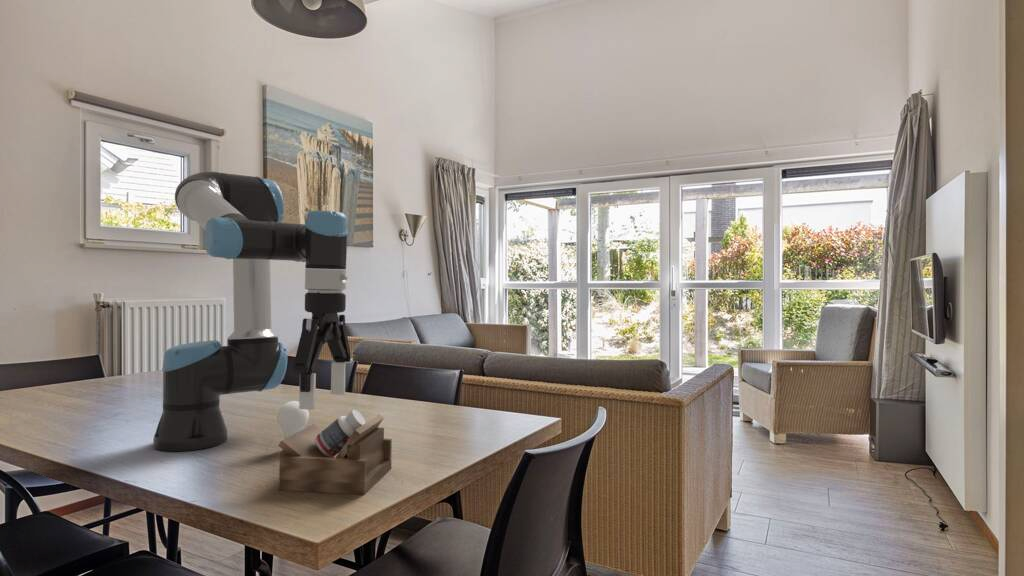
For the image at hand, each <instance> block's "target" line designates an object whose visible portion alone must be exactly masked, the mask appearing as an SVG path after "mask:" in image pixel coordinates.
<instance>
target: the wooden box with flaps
mask: <svg viewBox="0 0 1024 576" xmlns="http://www.w3.org/2000/svg"><path fill="white" fill-rule="evenodd" d="M384 419H385V417H384V416H382V415H381V413H379V414H378V415H376V416H374V417H372V418H371V419H370V420H368V421H367V422H366V423H365V424H364V425H362V426H360V427H359V428H357V429H356V430H355V431H354V432H353V434H352V435H351V436H350V438H349V439H348V441H347V442H346V444H345V445H344V446H343V448H342V449H341V451H340V452H339V453H338V454H336V455H335V456H334V457H328V456H326V455H324V454H323V453H322V452H321V451H320V449H319V448H318V446H317V444H316V442H315V438H316V436H317V435H318V434H319V433H321V432H322V431H323V430H322V429H321V428H320V427H318V426H317V425H316V424H315V423H313V424H312V423H311V425H309V426H307V427H304V428H303V430H301V431H299V432H297V433H295V434H293V435H291V436H289V437H287V438H285V437H284V438H283V439H282V440H280V442H279V444H278V445H277V446H278V448H280V449H282V450H281V451H280V452H279V467H278V468H279V475H278V476H279V477H278V479H279V482H278V483H279V486H278V490H279V491H290V492H306V493H324V494H325V493H326V494H327V493H328V494H344V495H345V494H346V495H347V494H349V495H362V496H363V495H366V494H367V493H368V492H369V491H370V490H371V489H372V488H373V487H374V486H375V485H376V484H377V483H378V482H379V481H380V480H382V478H383V477H384V476H386V474H387V473H389V472H390V470H391V469H392V450H393V449H392V444H393V442H392V441H393V440H392V438H385V427H379V426H380V424H381V423H382V422H383V420H384Z"/></svg>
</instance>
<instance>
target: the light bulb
mask: <svg viewBox="0 0 1024 576" xmlns="http://www.w3.org/2000/svg"><path fill="white" fill-rule="evenodd" d="M309 418H310V414H309V410H307V409H299V400H290V401H288V402H285V403H283V405H282V406H281V407H280V408H279V410H278V412H277V422H278V424H279V426H280V428H281V429H282V432H283V433H284V439H285V438H287V437H289V436H291V435H293V434H295V433H297V432H299V431H301V430H303V429H305V426H306V424H307V423H308V421H309Z"/></svg>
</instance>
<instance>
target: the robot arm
mask: <svg viewBox="0 0 1024 576" xmlns="http://www.w3.org/2000/svg"><path fill="white" fill-rule="evenodd" d="M174 200H175V201H174V202H175V205H176V208H177V209H178V210H179V211H180V213H181V214H182V215H184V217H186V218H188V220H189V219H190V220H191V221H195V222H196V223H198V225H199V226H200V227H201V228H202V229H203V230H204V233H203V235H204V237H203V239H204V241H203V243H204V247H205V251H206V253H207V255H208V256H210V257H211V258H221V259H226V260H232V272H233V273H232V276H233V277H232V279H233V281H232V282H233V286H232V287H233V288H232V289H233V332H232V333H231V334H230V335H229V336H228V337H227V342H226V344H227V345H224V346H223V345H222V344H221V343H220V341H219V340H205V341H203V340H201V341H194V342H188V343H183V344H178V345H174V346H171V347H170V348H168V349H166V350H165V352H164V354H163V360H162V361H163V362H162V367H161V369H162V370H161V371H162V413H161V416H160V418H159V421H158V423H157V427H156V429H155V430H156V431H155V433H154V435H153V447H152V448H154V449H155V450H156V451H162V452H163V451H164V452H187V451H195V450H202V449H207V448H212V447H215V446H219V445H221V444H223V443H225V442H226V441H228V428H227V426H226V423H225V420H224V417H223V413H222V411H221V408H220V402H221V401H220V400H221V399H220V398H221V396H222V395H232V394H239V393H251V392H262V391H266V390H272V389H276V388H278V387H279V386H280V385H281V383H282V381H283V380H284V378H285V375H286V371H287V366H288V352H287V348H286V345H285V344H284V343H282V342H281V341H279V335H278V334H277V333H275V332H274V331H273V329H272V300H271V299H272V298H271V295H272V291H271V286H272V285H271V260H272V261H293V262H298V263H299V262H302V263H305V272H304V276H305V277H304V289H305V290H307V292H306V293H305V294H304V311H305V312H306V313H311V318H303V319H302V323H301V324H302V325H301V333H300V337H299V340H298V346H297V349H296V354H295V357H294V362H293V366H292V371H293V373H294V374H298V375H299V389H298V390H299V396H298V397H299V399H298V402H299V409H307V410H308V411H309V410H310V411H313V410H316V394H317V393H316V389H317V387H316V385H317V381H316V379H317V373H316V372H315V373H314V371H315V368H316V365H317V363H318V361H319V357H320V354H321V350H322V348H323V346H324V344H326V343H327V347H328V349H329V351H330V354H331V357H332V359H333V361H331V363H330V364H331V365H330V366H331V368H330V370H331V371H330V375H331V376H330V394H331V395H342V396H344V395H346V366H347V365H346V364H347V363H350V362H351V349H350V343H349V337H348V333H347V327H346V315H345V314H339V313H344V312H345V311H346V299H347V298H346V296H347V294H345V293H344V292H343V291H345V290H346V287H347V286H346V285H347V283H346V281H347V280H348V278H349V276H348V275H347V270H346V269H347V250H348V249H347V248H348V235H349V234H348V221H347V219H348V218H347V216H346V214H344V212H340V211H333V210H311V211H308V213H307V214H306V220H305V223H301V224H300V223H289V222H282V221H283V218H284V213H285V203H284V197H283V193H282V189H281V188H280V186H279V185H278V184H277V182H276V181H274V180H272V179H268V178H264V177H263V178H262V177H260V176H251V175H241V174H232V173H225V172H219V171H218V172H217V171H203V172H202V171H200V172H198V173H193V174H190V175H188V176H186V178H184V179H182V180H181V181H180V182H179V184H178V185H177V187H176V189H175V192H174Z"/></svg>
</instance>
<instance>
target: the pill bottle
mask: <svg viewBox="0 0 1024 576" xmlns="http://www.w3.org/2000/svg"><path fill="white" fill-rule="evenodd" d="M365 423H367V422H366V419H365V417H364V416H363V415H362V414H361V412H359V411H358V410H356V409H352V410H351V411H349V412H348V414H347V415H340V416H339V417H337V418H336V419H335V420H334V421H332V423H331V424H329V425H328V426H327V427H325V429H323V430H322V432H321V433H319V434H318V435H317V436H316V438H315V442H316V444H317V446H318V448H319V449H320V451H321V452H322V453H323V454H324V455H326V456H328V457H334V456H335V455H336V454H338V453H339V452H340V451H341V449H342V448H343V446H344V445H345V444H346V442H347V441H348V439H349V438H350V436H351V435H352V434H353V432H354V431H355V430H356V429H357V428H359V427H360V426H362V425H364V424H365Z"/></svg>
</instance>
